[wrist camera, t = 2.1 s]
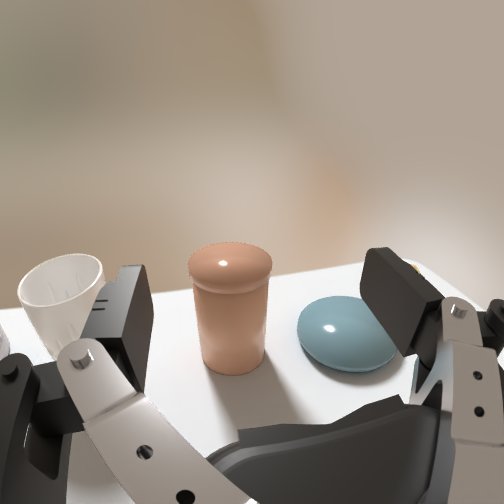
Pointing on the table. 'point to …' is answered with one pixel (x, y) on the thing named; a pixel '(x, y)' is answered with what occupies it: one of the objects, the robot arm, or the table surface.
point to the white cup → (61, 298)
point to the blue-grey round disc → (344, 334)
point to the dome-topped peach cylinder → (231, 304)
